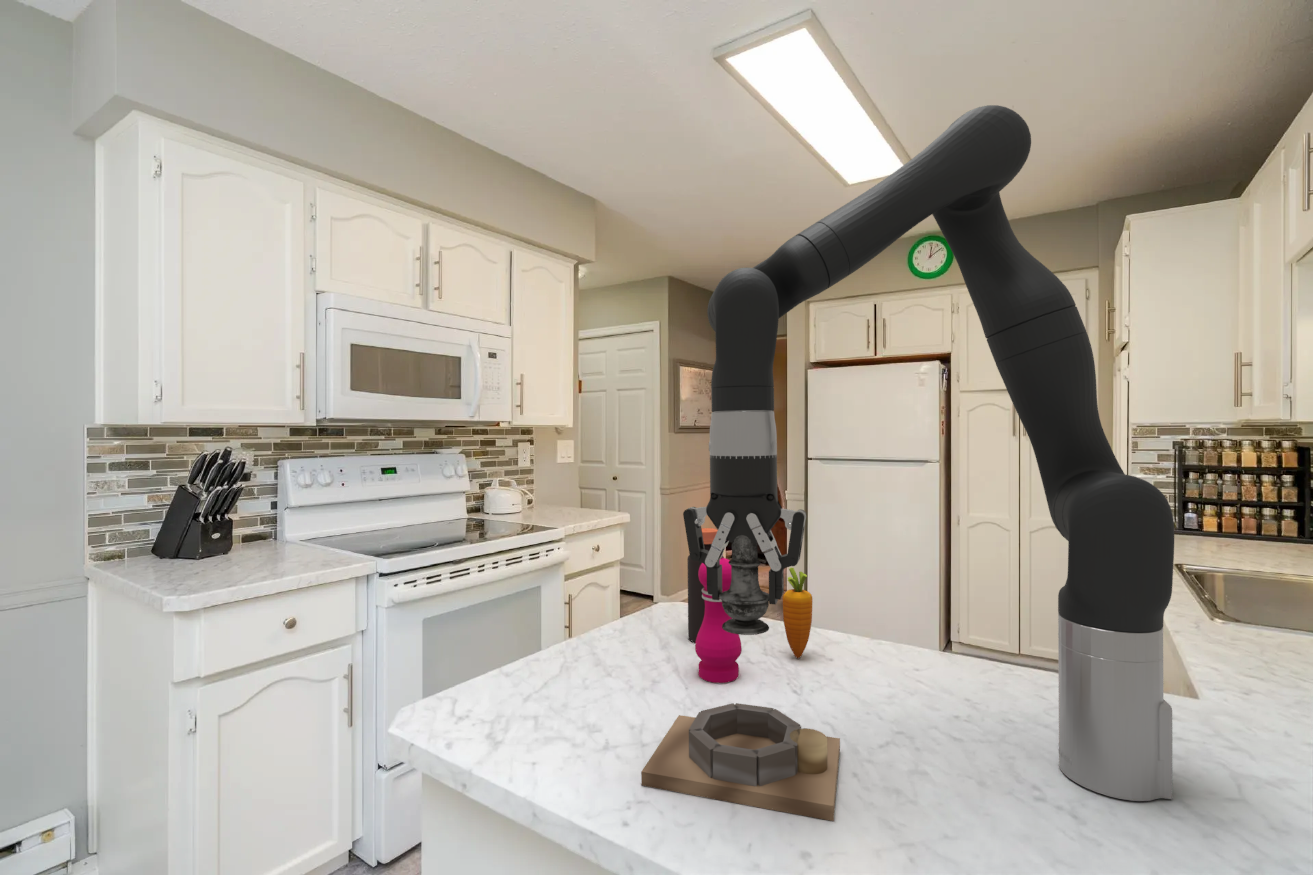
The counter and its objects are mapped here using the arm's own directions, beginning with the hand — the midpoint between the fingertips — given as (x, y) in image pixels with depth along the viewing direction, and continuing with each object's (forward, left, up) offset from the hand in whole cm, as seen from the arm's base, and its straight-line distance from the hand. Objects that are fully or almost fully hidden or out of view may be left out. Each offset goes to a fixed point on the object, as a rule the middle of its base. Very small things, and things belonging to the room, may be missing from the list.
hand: (744, 599), depth 70 cm
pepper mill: (+9, -25, -19) cm, 33 cm away
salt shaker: (0, 0, -3) cm, 3 cm away
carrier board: (0, 0, -19) cm, 19 cm away
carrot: (-2, -36, -19) cm, 41 cm away
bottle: (+15, -41, -19) cm, 48 cm away
